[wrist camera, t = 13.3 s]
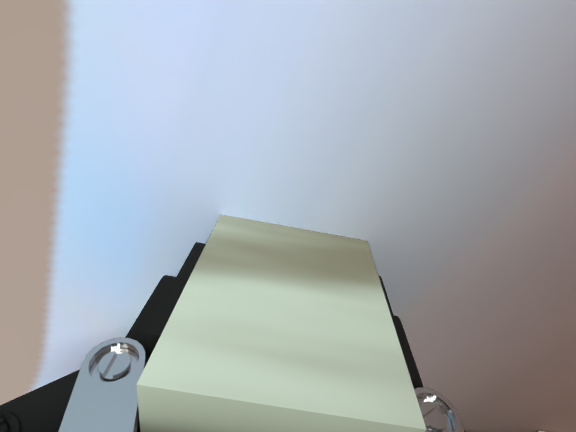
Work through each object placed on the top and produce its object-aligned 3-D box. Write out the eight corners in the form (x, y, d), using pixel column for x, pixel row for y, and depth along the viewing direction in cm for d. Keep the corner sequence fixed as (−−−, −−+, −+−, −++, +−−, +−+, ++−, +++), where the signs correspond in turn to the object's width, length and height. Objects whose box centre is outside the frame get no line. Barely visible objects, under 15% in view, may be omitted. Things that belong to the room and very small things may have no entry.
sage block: (220, 213, 11) (136, 385, 5) (367, 240, 11) (426, 429, 5) (211, 319, 13) (147, 509, 8) (331, 339, 13) (348, 537, 8)
